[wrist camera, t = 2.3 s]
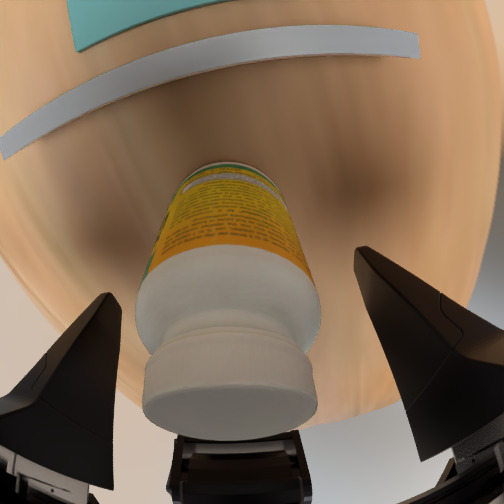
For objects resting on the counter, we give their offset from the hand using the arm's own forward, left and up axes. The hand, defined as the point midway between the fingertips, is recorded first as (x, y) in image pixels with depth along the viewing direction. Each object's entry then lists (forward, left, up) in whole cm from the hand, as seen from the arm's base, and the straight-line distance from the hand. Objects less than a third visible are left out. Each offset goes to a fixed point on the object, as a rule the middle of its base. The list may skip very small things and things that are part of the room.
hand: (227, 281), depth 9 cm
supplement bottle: (0, 0, -5) cm, 5 cm away
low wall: (+7, 0, -5) cm, 8 cm away
